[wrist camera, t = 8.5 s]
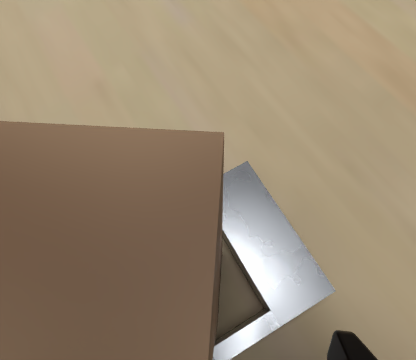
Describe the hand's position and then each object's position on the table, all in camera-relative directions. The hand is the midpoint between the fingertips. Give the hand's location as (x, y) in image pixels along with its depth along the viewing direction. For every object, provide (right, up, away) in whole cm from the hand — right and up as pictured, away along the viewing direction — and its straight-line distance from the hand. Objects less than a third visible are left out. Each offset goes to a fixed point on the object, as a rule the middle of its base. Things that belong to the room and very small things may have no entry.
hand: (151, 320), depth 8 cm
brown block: (0, -2, +8) cm, 9 cm away
